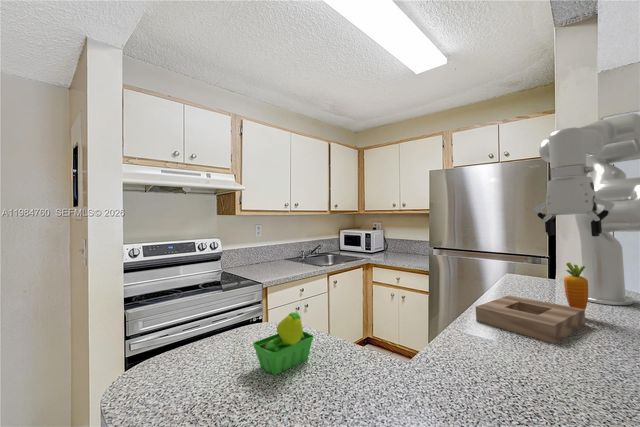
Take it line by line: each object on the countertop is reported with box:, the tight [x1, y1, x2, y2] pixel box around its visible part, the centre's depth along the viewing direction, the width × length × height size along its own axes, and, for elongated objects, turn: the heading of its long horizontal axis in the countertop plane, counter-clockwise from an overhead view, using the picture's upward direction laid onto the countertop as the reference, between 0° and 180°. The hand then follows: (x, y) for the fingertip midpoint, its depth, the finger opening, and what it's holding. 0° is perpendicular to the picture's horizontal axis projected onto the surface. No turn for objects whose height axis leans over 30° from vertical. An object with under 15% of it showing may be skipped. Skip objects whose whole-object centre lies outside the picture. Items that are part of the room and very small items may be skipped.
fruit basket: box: [252, 311, 314, 376], centre depth 61 cm, size 11×9×11 cm
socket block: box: [474, 294, 586, 344], centre depth 76 cm, size 18×18×4 cm
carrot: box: [563, 262, 589, 310], centre depth 79 cm, size 5×5×15 cm
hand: (572, 235), depth 79 cm, fingers open, 9 cm apart
